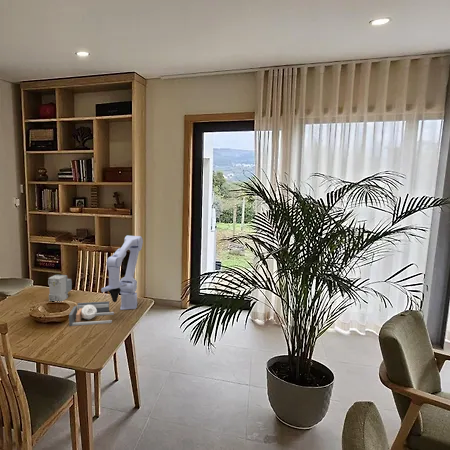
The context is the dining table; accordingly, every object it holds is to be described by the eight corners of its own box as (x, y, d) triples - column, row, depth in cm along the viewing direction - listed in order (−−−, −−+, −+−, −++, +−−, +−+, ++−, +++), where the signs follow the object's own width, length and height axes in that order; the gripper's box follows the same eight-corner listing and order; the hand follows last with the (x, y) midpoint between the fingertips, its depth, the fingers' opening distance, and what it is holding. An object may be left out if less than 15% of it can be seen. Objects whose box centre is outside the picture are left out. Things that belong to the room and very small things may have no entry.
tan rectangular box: (82, 316, 177) (82, 308, 176) (79, 323, 169) (79, 314, 168) (79, 317, 177) (79, 308, 176) (76, 323, 169) (76, 314, 168)
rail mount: (114, 310, 187) (114, 301, 186) (111, 322, 171) (111, 312, 170) (76, 313, 182) (75, 303, 181) (69, 325, 166) (68, 315, 165)
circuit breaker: (73, 294, 211) (72, 272, 209) (60, 302, 197) (59, 279, 195) (62, 293, 212) (61, 271, 210) (48, 301, 198) (47, 278, 196)
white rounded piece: (83, 323, 170) (83, 309, 169) (79, 318, 176) (78, 304, 175) (98, 319, 176) (98, 305, 175) (93, 314, 181) (93, 301, 180)
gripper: (121, 273, 183) (122, 296, 185) (98, 279, 172) (98, 303, 174) (128, 276, 179) (129, 299, 181) (105, 282, 168) (105, 306, 170)
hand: (114, 301), depth 177 cm, fingers closed
